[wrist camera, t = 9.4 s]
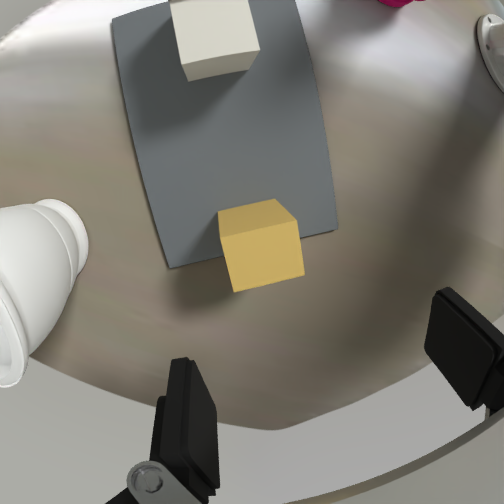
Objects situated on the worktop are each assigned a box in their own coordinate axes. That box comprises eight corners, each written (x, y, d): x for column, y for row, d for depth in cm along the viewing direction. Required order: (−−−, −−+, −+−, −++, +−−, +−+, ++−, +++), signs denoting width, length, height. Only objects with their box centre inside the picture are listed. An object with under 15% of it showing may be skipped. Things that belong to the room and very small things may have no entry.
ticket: (233, 2, 19) (240, -34, 13) (249, 69, 21) (262, 47, 15) (174, 13, 18) (164, -21, 12) (187, 81, 21) (180, 63, 15)
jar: (36, 167, 22) (-79, 207, 8) (117, 224, 25) (37, 315, 11) (6, 254, 24) (-79, 328, 10) (76, 306, 27) (17, 411, 13)
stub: (274, 198, 26) (296, 220, 19) (282, 241, 27) (304, 275, 21) (217, 211, 25) (220, 237, 19) (228, 254, 27) (234, 292, 20)
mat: (289, -13, 19) (290, -15, 18) (336, 227, 28) (338, 228, 27) (113, 20, 18) (111, 19, 17) (170, 266, 27) (169, 268, 27)
